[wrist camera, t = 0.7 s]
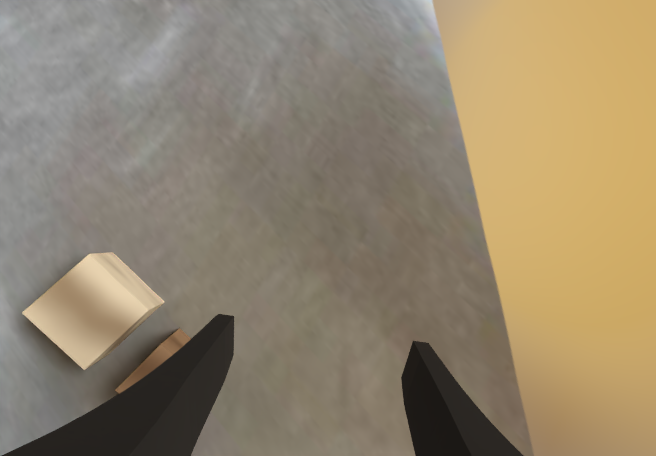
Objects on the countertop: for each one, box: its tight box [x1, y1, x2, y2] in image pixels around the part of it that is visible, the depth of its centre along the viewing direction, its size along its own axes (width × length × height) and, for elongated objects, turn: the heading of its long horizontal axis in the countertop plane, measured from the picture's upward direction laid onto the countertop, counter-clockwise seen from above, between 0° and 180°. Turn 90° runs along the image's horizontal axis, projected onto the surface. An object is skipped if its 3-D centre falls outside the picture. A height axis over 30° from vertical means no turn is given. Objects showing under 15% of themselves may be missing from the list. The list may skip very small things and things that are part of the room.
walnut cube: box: [115, 328, 191, 394], centre depth 29 cm, size 5×5×5 cm
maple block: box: [22, 253, 164, 370], centre depth 29 cm, size 7×7×4 cm
